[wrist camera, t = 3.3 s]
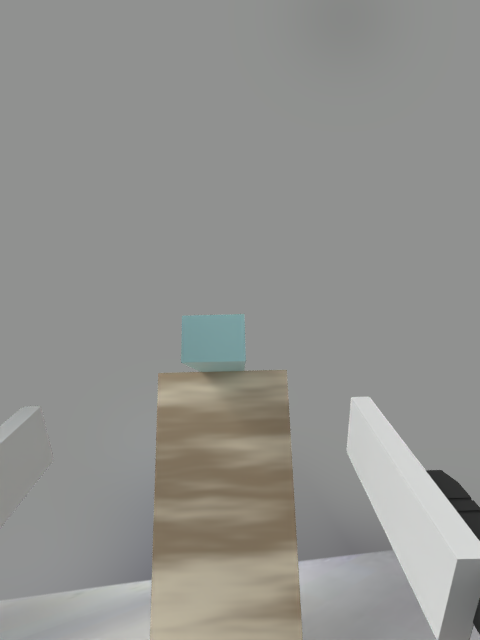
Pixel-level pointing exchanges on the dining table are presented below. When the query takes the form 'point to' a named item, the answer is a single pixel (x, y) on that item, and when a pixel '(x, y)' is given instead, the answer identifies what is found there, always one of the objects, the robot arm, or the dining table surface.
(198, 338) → the teal block
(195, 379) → the wooden stand
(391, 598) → the dining table surface
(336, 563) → the dining table surface
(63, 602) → the dining table surface
